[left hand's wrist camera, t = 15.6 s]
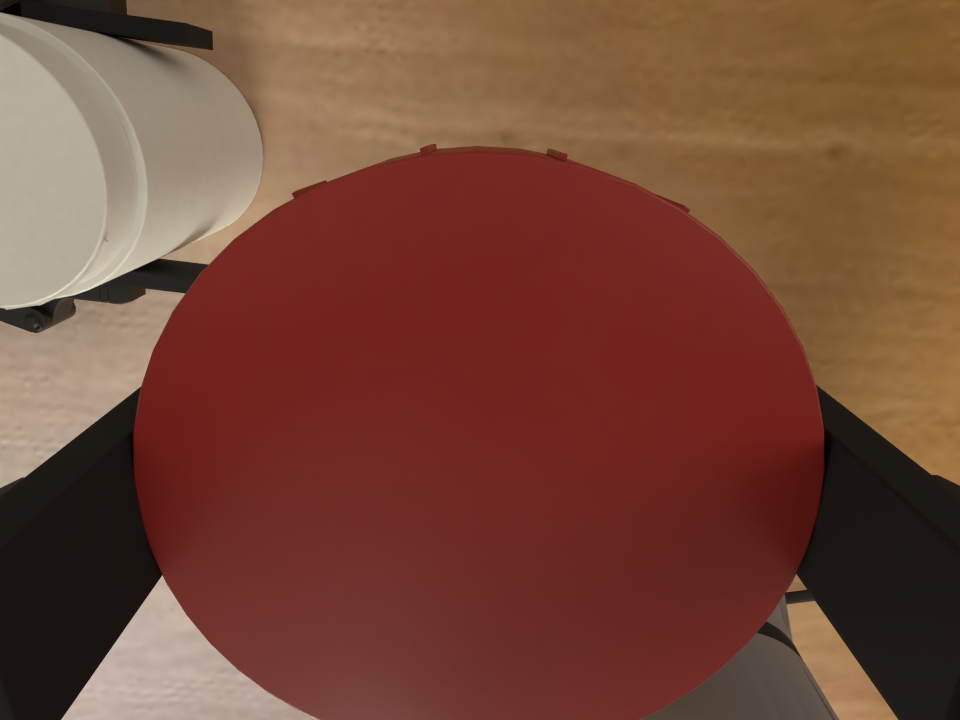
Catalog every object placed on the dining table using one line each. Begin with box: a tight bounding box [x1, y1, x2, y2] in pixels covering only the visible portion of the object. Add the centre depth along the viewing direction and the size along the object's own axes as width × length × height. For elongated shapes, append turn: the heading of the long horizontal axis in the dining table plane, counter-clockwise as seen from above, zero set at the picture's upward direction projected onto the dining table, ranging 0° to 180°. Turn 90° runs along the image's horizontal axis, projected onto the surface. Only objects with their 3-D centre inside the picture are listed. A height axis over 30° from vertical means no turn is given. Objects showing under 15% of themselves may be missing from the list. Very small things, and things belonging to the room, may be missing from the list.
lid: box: [133, 144, 825, 720], centre depth 11 cm, size 11×11×2 cm
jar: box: [0, 13, 263, 310], centre depth 27 cm, size 10×10×15 cm
